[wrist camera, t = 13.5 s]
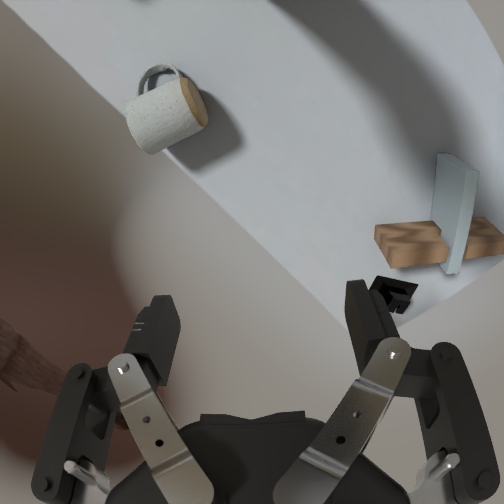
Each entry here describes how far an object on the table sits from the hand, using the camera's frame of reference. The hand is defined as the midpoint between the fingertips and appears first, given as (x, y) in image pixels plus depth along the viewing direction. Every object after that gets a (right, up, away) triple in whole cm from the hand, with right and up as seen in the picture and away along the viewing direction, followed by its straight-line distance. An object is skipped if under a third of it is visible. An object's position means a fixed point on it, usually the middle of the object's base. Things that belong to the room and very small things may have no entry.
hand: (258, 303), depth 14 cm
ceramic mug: (-11, +22, +23) cm, 33 cm away
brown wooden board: (+29, +6, +31) cm, 43 cm away
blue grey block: (+29, +10, +28) cm, 42 cm away
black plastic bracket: (+25, -4, +39) cm, 46 cm away
